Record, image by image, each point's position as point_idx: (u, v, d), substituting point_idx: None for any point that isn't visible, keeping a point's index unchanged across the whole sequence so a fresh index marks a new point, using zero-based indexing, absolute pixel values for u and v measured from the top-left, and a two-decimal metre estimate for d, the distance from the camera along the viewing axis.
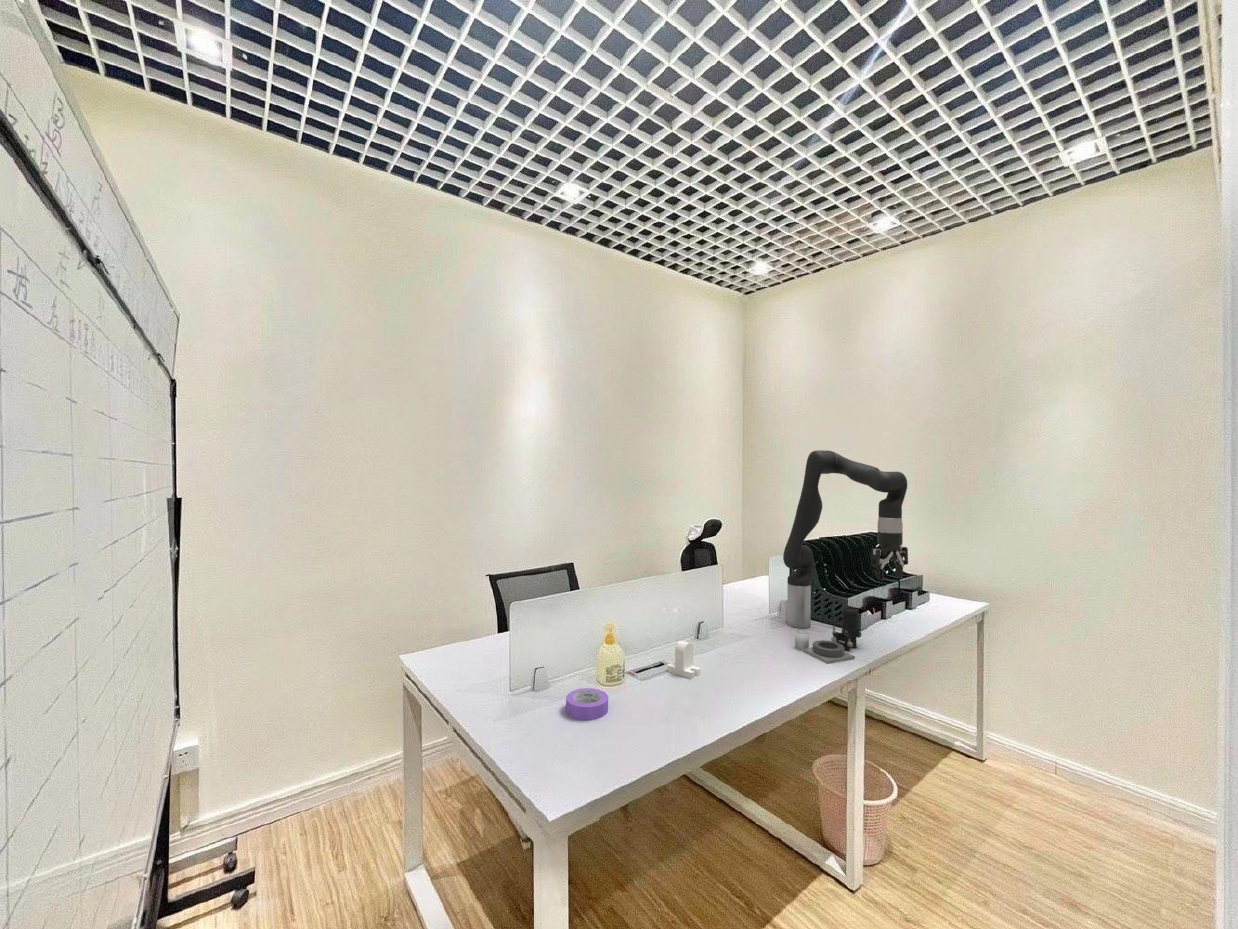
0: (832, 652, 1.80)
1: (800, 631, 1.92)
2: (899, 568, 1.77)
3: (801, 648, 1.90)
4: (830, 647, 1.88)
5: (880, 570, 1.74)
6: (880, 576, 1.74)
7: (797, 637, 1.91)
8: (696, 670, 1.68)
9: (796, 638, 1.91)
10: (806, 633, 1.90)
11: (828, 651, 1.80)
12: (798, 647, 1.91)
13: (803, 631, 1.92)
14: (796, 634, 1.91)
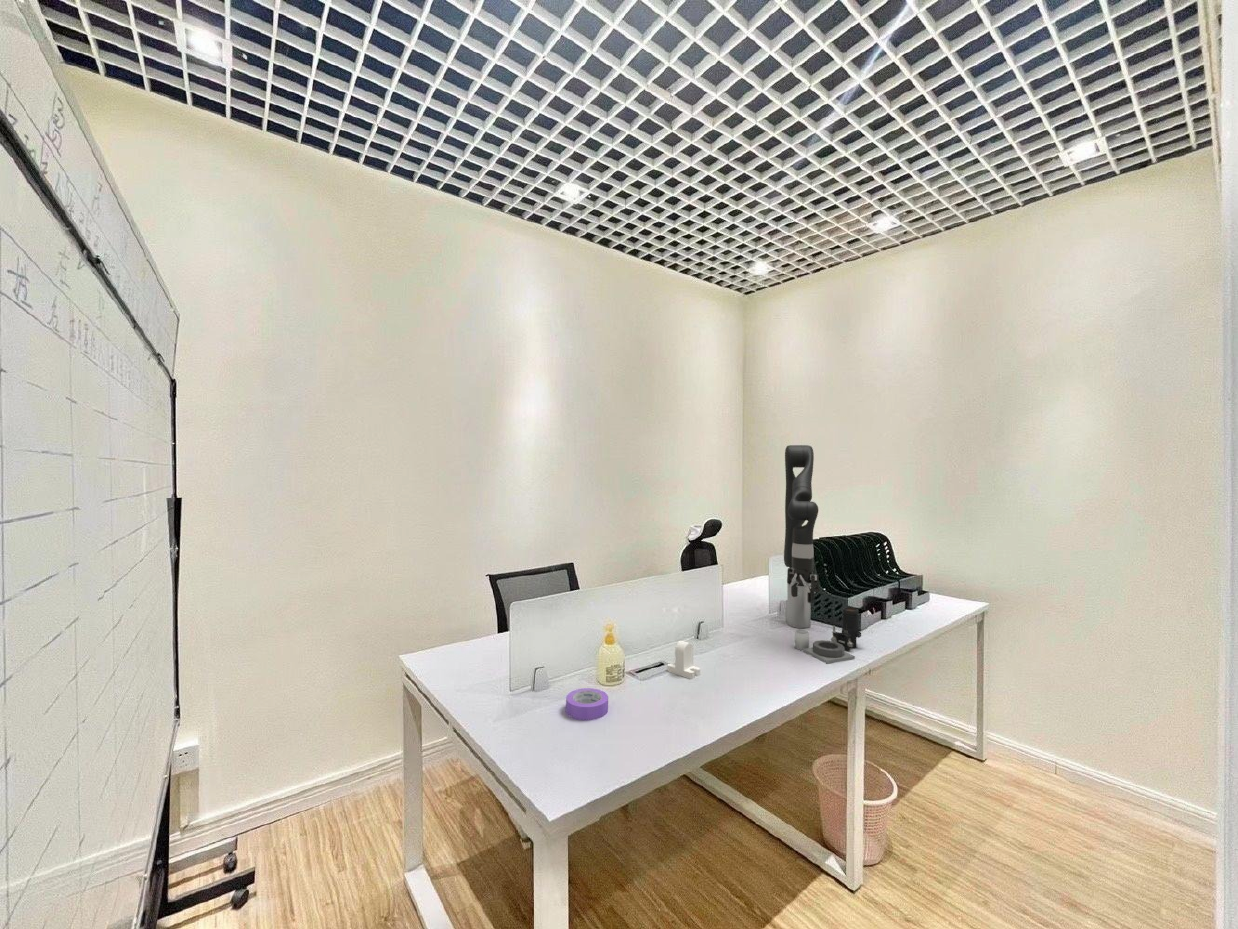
0: (832, 652, 1.80)
1: (800, 631, 1.92)
2: (796, 587, 1.96)
3: (801, 648, 1.90)
4: (830, 647, 1.88)
5: None
6: None
7: (797, 637, 1.91)
8: (696, 670, 1.68)
9: (796, 638, 1.91)
10: (806, 633, 1.90)
11: (828, 651, 1.80)
12: (798, 647, 1.91)
13: (803, 631, 1.92)
14: (796, 634, 1.91)
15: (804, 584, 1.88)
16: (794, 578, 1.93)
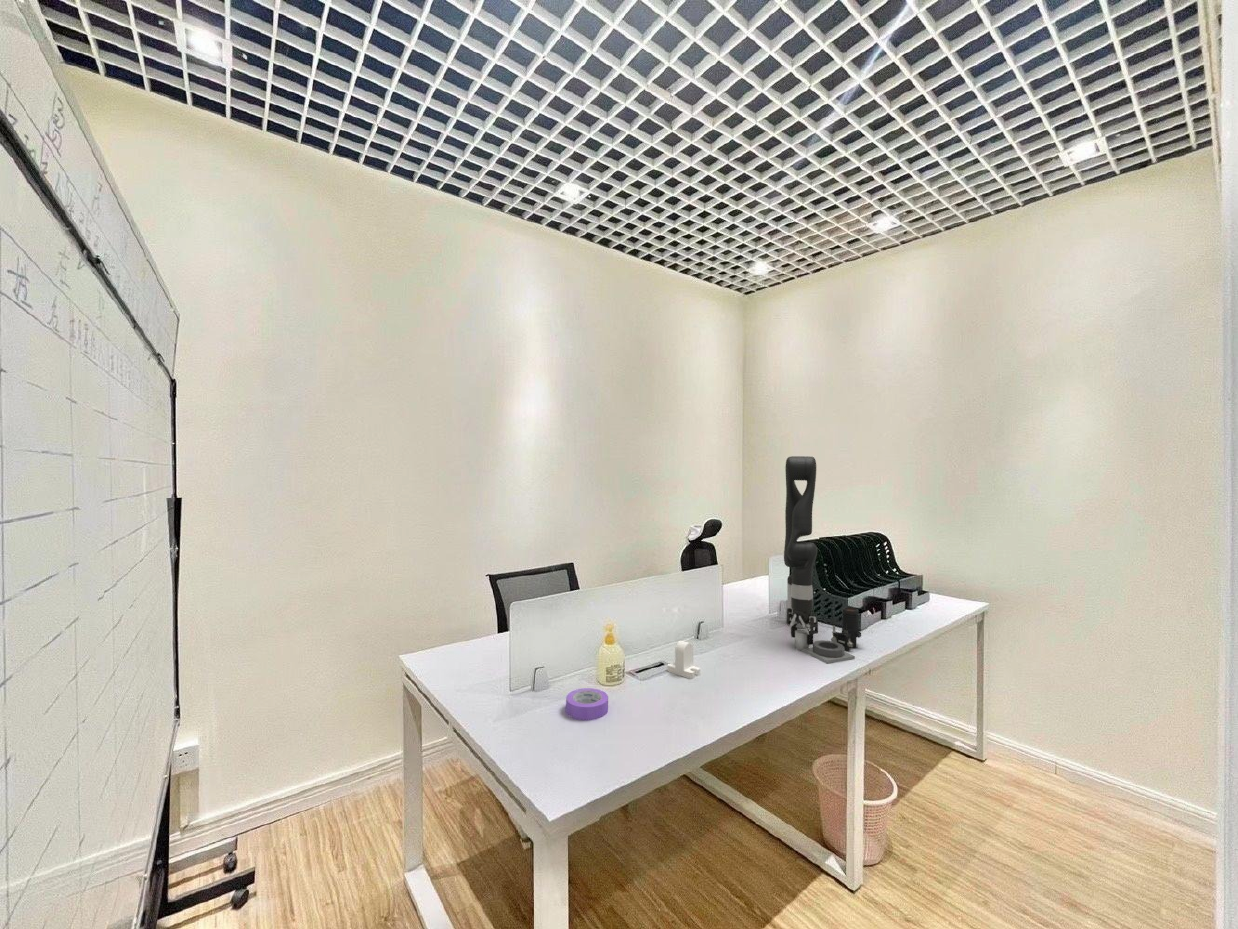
0: (832, 652, 1.80)
1: (800, 631, 1.92)
2: (796, 628, 1.95)
3: (801, 648, 1.90)
4: (830, 647, 1.88)
5: None
6: None
7: (797, 637, 1.91)
8: (696, 670, 1.68)
9: (796, 638, 1.91)
10: (806, 633, 1.90)
11: (828, 651, 1.80)
12: (798, 647, 1.91)
13: (803, 631, 1.92)
14: (796, 634, 1.91)
15: (803, 625, 1.88)
16: (793, 619, 1.93)
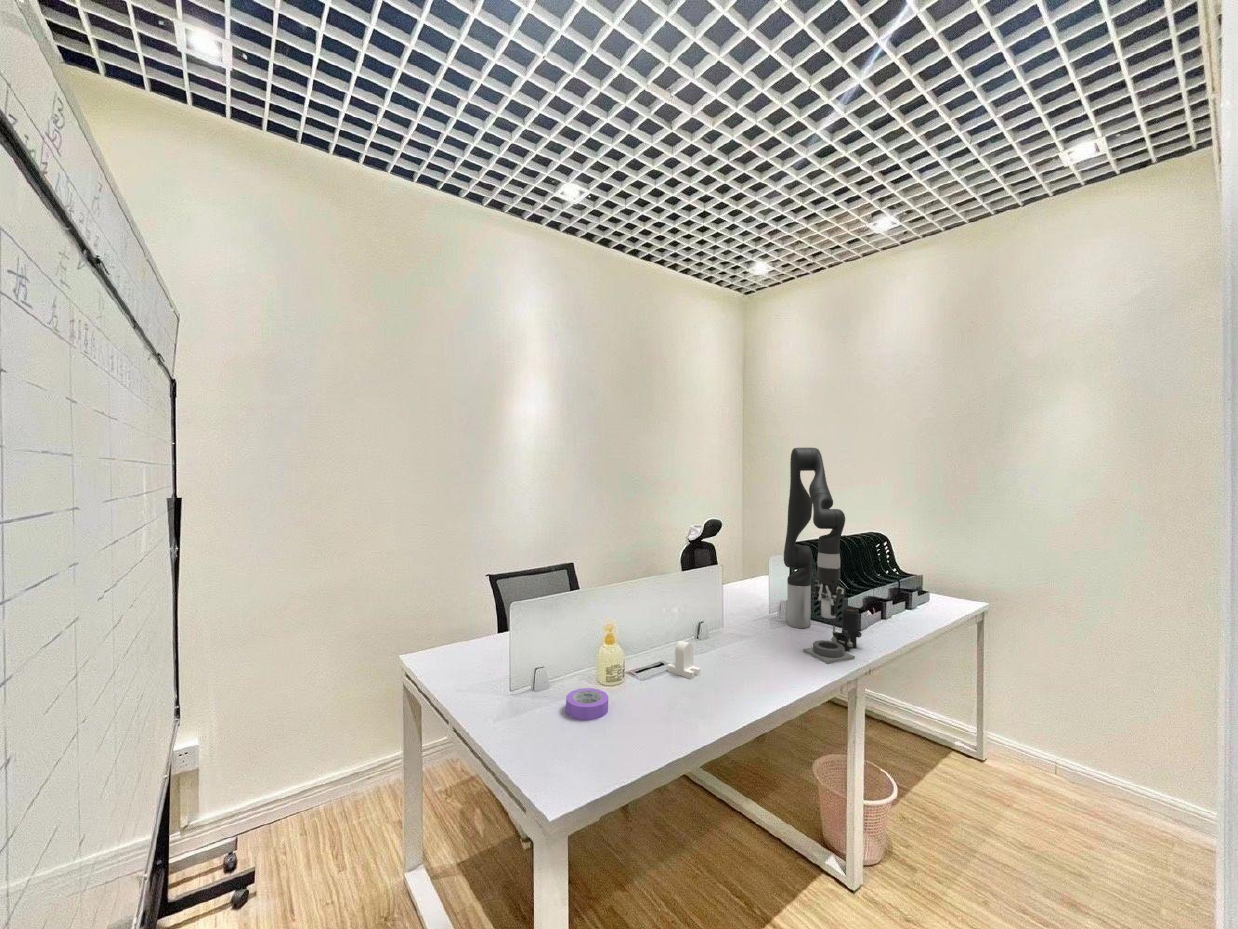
0: (832, 652, 1.80)
1: (827, 599, 1.85)
2: None
3: (828, 616, 1.83)
4: (830, 647, 1.88)
5: None
6: None
7: (824, 604, 1.84)
8: (696, 670, 1.68)
9: (822, 606, 1.84)
10: None
11: (828, 651, 1.80)
12: (824, 615, 1.83)
13: None
14: (822, 602, 1.84)
15: (829, 596, 1.82)
16: (821, 590, 1.86)
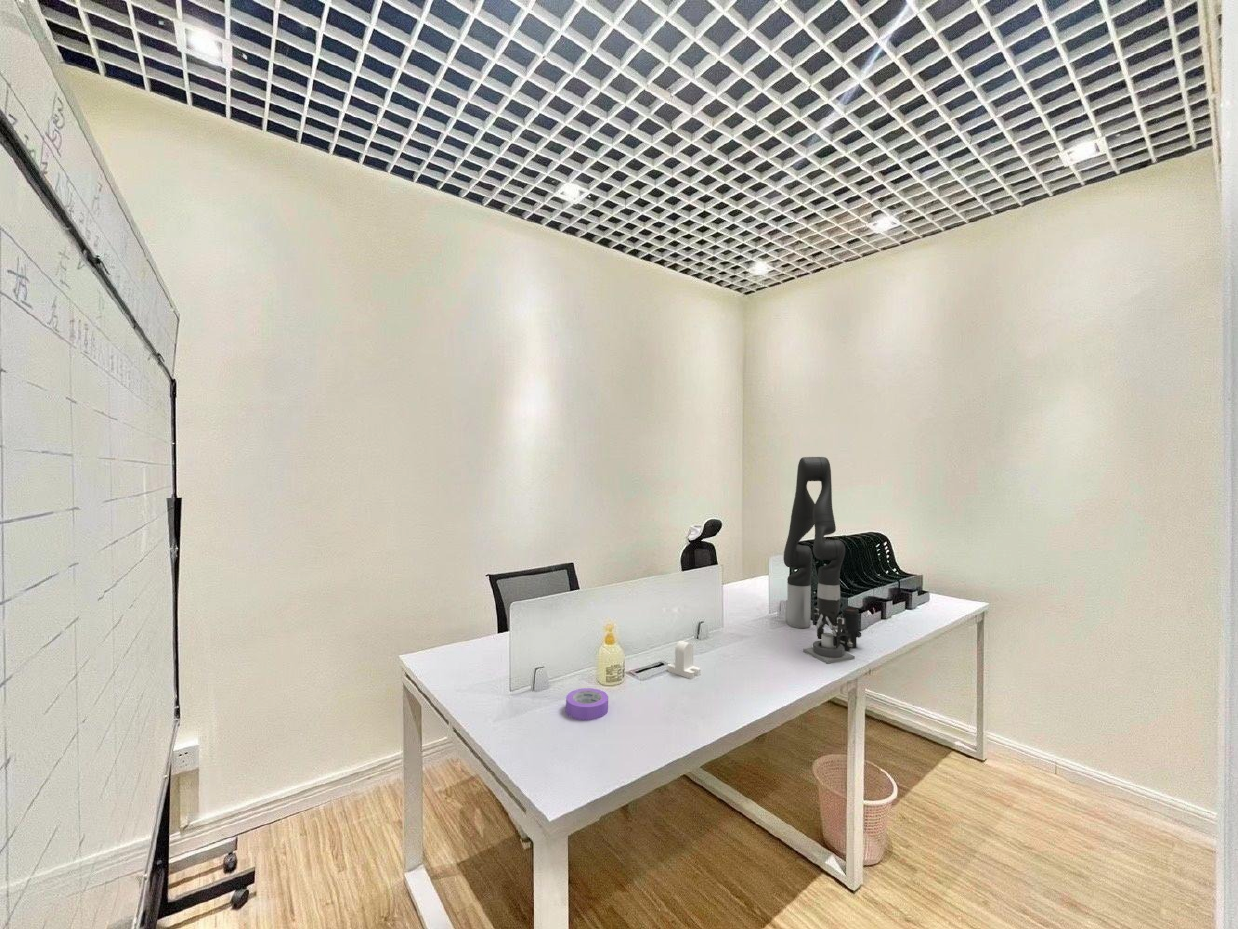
0: (832, 652, 1.80)
1: (827, 634, 1.85)
2: (822, 629, 1.88)
3: None
4: None
5: None
6: None
7: (824, 640, 1.84)
8: (696, 670, 1.68)
9: (823, 642, 1.84)
10: None
11: (828, 651, 1.80)
12: None
13: (830, 634, 1.85)
14: (823, 638, 1.84)
15: (830, 627, 1.82)
16: (820, 619, 1.86)
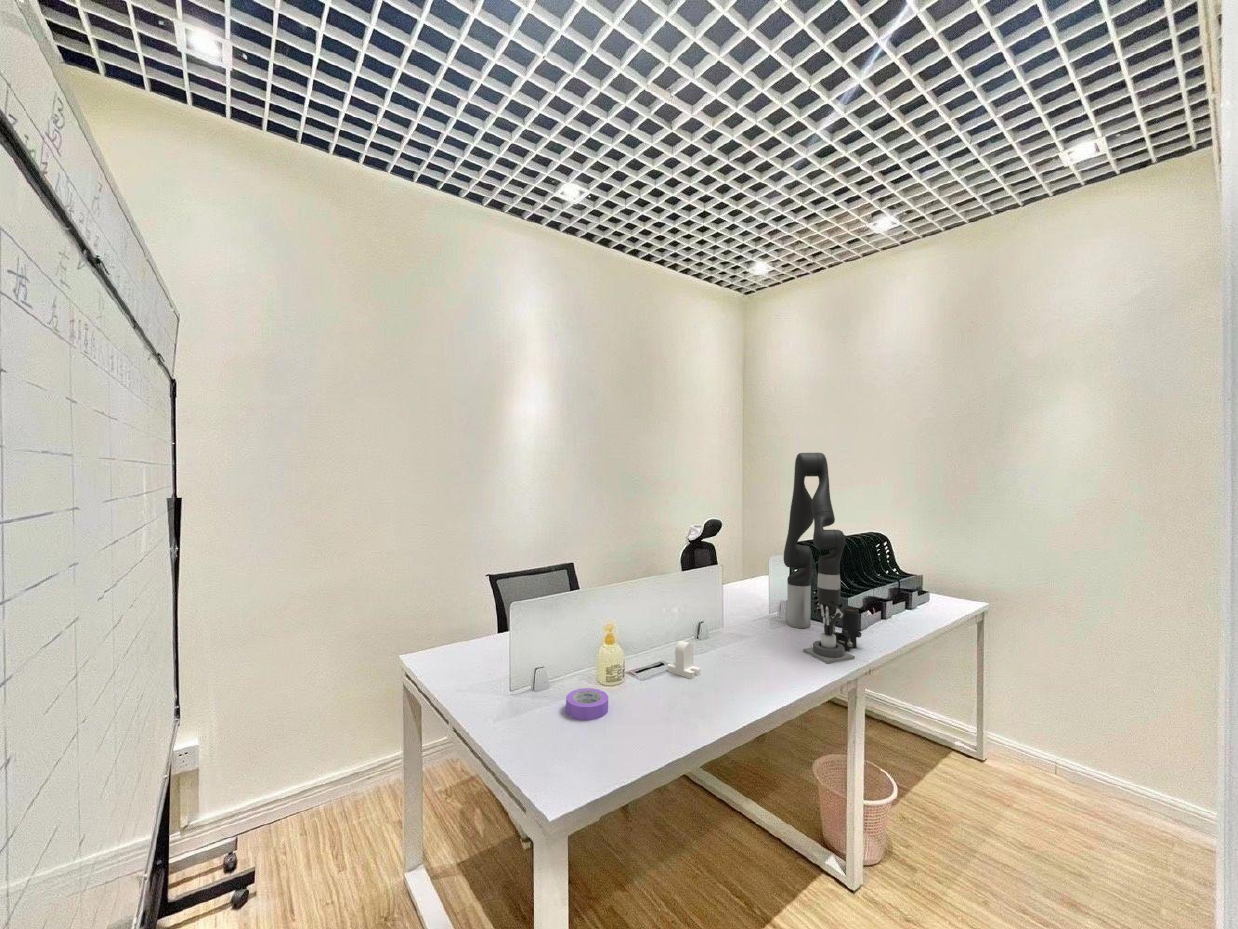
0: (832, 652, 1.80)
1: None
2: None
3: None
4: None
5: None
6: None
7: (825, 640, 1.84)
8: (696, 670, 1.68)
9: (823, 642, 1.84)
10: (833, 636, 1.84)
11: (828, 651, 1.80)
12: None
13: None
14: (823, 638, 1.84)
15: (826, 616, 1.83)
16: (822, 611, 1.85)
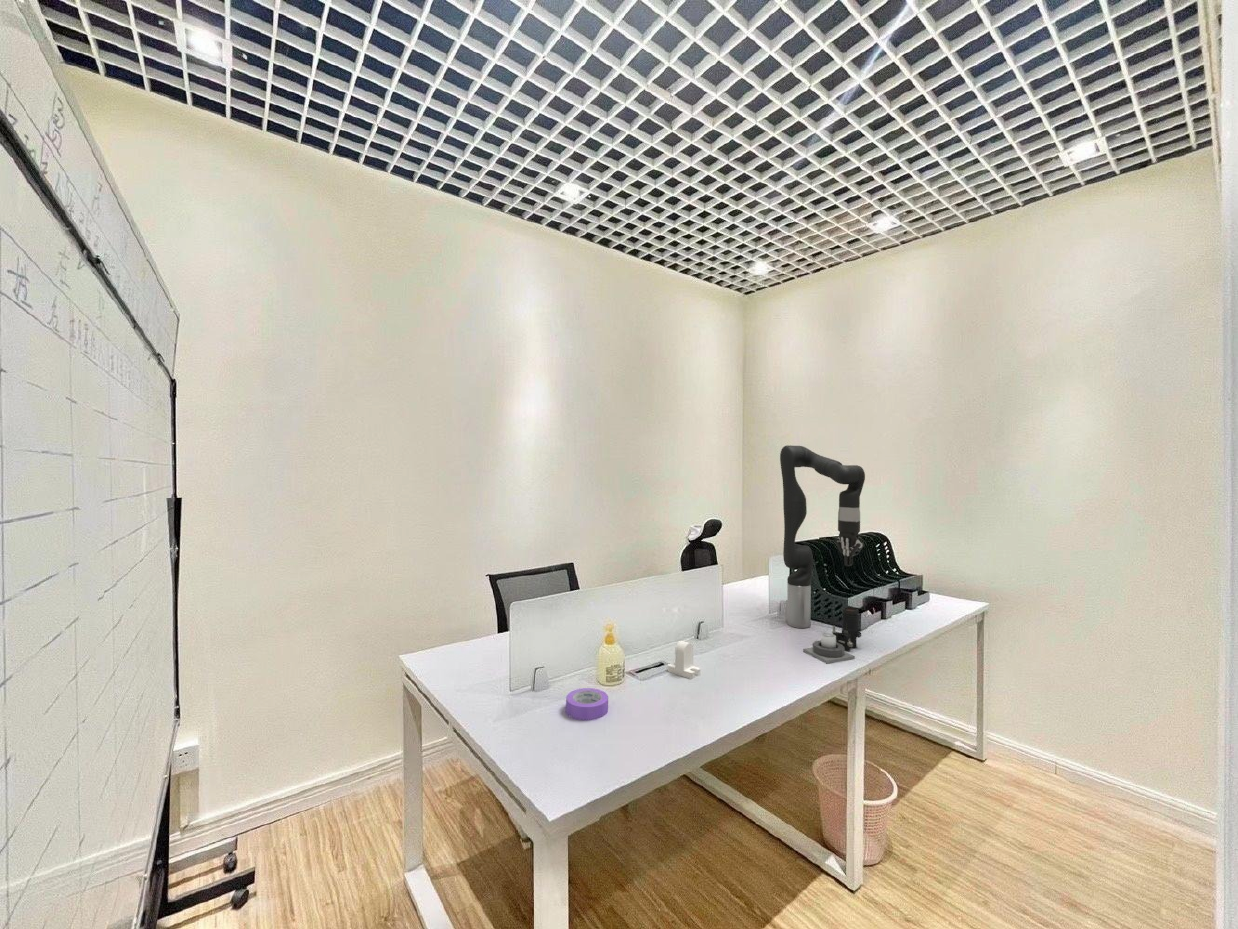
0: (832, 652, 1.80)
1: (827, 634, 1.85)
2: None
3: None
4: None
5: None
6: None
7: (824, 641, 1.84)
8: (696, 670, 1.68)
9: (823, 642, 1.84)
10: (833, 636, 1.84)
11: (828, 651, 1.80)
12: None
13: (830, 634, 1.85)
14: (823, 638, 1.84)
15: (846, 547, 1.92)
16: (842, 543, 1.94)
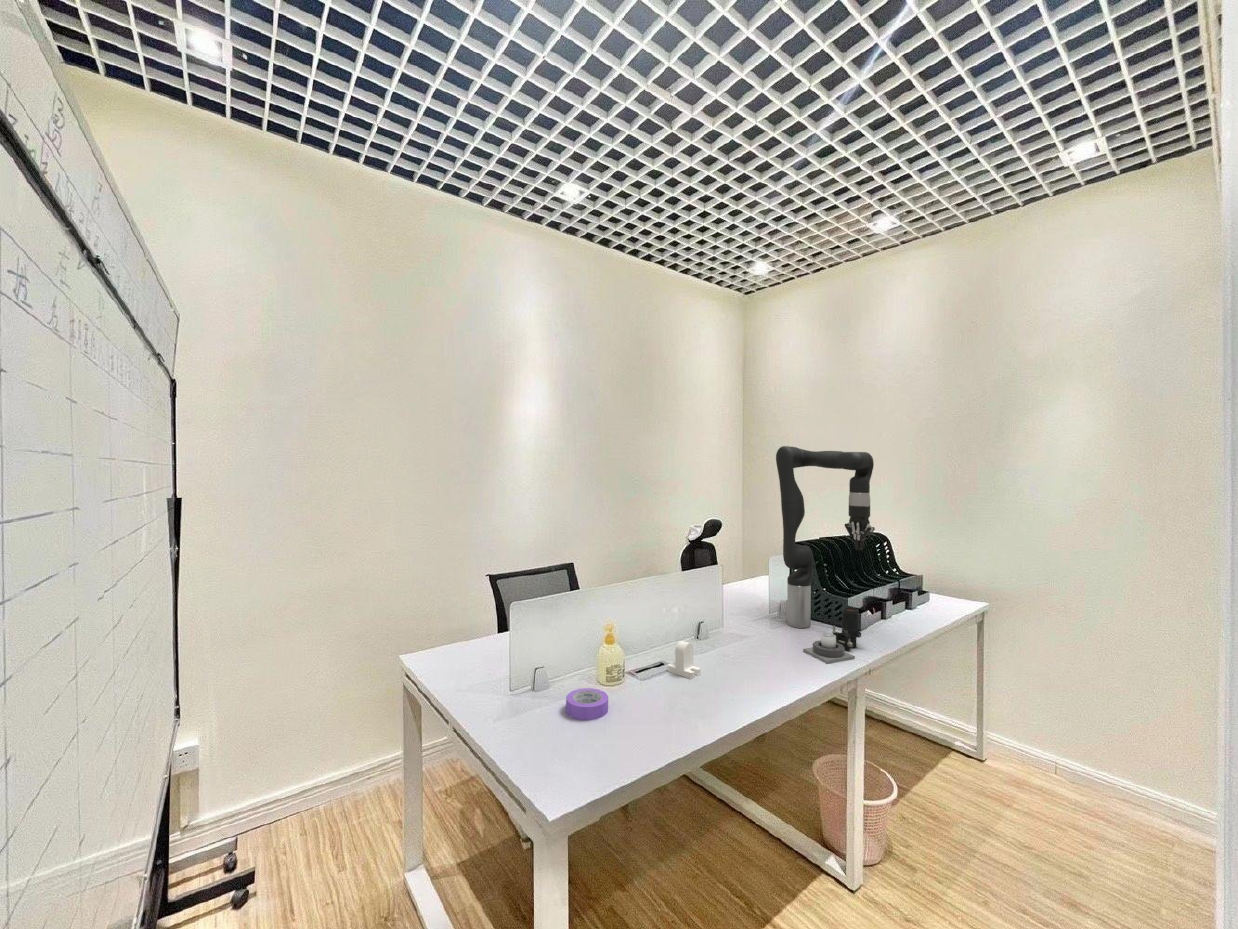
0: (832, 652, 1.80)
1: (827, 634, 1.85)
2: None
3: None
4: None
5: None
6: None
7: (824, 641, 1.84)
8: (696, 670, 1.68)
9: (823, 642, 1.84)
10: (833, 636, 1.84)
11: (828, 651, 1.80)
12: None
13: (830, 634, 1.85)
14: (823, 638, 1.84)
15: (857, 532, 1.97)
16: (853, 528, 1.99)
